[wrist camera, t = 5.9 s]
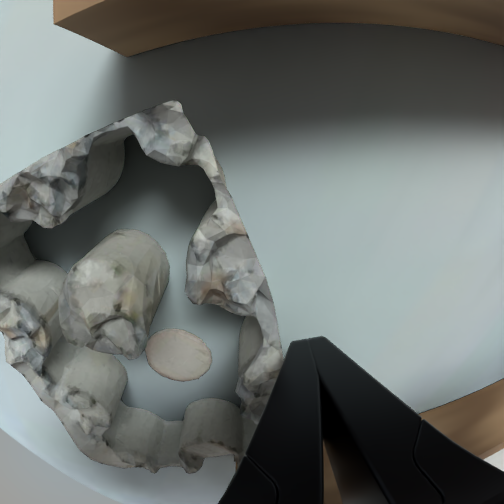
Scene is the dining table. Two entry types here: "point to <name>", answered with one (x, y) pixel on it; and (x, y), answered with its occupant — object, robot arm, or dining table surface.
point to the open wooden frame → (304, 12)
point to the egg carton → (131, 303)
